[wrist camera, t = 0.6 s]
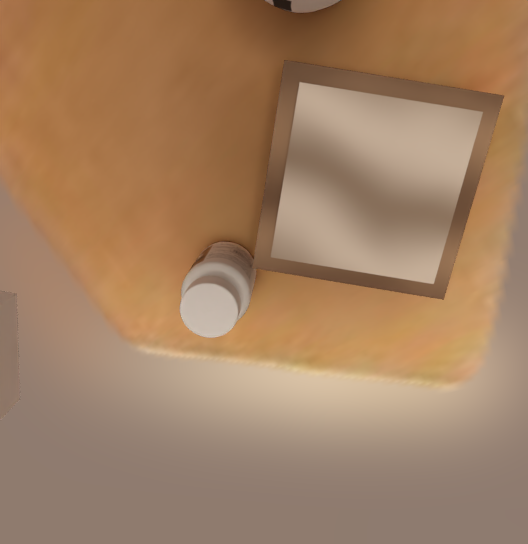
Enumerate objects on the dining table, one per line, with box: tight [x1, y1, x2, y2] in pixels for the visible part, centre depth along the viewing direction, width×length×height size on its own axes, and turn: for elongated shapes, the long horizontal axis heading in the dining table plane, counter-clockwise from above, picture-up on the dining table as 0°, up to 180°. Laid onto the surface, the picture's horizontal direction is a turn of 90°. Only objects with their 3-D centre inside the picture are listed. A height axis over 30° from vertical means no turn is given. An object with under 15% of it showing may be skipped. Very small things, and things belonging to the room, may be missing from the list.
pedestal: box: [252, 60, 504, 300], centre depth 30 cm, size 12×12×5 cm
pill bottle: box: [180, 242, 256, 338], centre depth 31 cm, size 4×4×8 cm
